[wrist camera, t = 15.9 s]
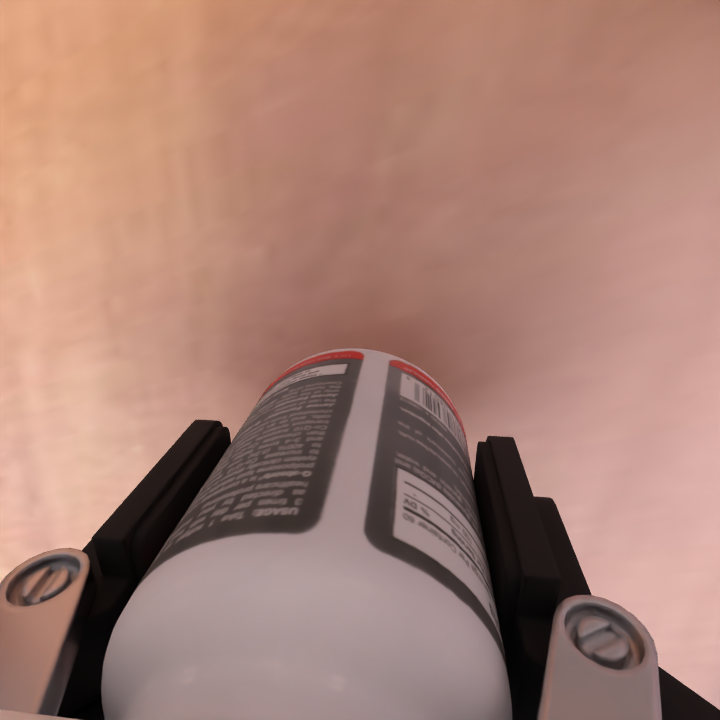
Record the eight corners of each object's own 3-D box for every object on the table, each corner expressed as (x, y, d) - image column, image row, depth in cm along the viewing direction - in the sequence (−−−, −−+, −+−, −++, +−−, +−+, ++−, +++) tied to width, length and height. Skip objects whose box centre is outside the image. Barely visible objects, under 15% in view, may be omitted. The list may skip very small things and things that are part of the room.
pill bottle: (257, 502, 14) (-30, 1099, 5) (260, 326, 12) (-239, 835, 3) (446, 533, 14) (495, 1239, 5) (486, 357, 12) (723, 1060, 3)
